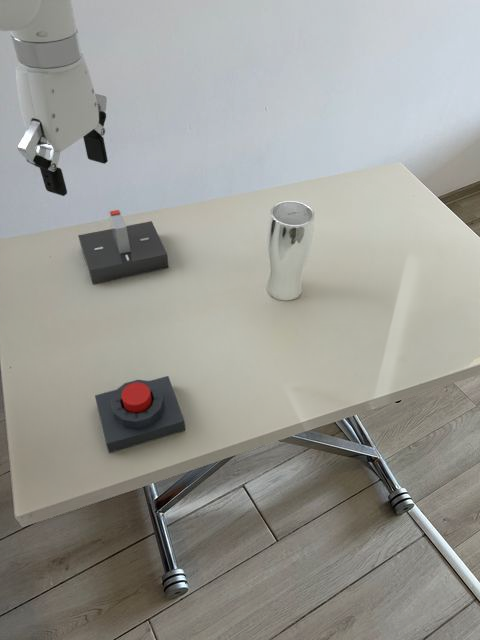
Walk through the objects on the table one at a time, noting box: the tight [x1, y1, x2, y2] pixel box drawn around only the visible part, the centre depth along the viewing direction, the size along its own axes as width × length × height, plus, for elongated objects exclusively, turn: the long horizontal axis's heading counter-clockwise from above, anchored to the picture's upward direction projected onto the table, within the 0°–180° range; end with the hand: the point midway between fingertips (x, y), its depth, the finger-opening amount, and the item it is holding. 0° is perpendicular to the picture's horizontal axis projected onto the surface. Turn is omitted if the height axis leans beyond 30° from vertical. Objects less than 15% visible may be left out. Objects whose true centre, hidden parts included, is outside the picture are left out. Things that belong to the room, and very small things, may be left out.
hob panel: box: [78, 220, 170, 285], centre depth 92 cm, size 13×10×3 cm
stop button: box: [121, 383, 152, 413], centre depth 68 cm, size 4×4×2 cm
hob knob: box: [108, 209, 130, 254], centre depth 89 cm, size 5×2×5 cm, turn 23°
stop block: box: [94, 375, 186, 454], centre depth 70 cm, size 10×8×4 cm
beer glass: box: [266, 200, 315, 302], centre depth 84 cm, size 7×7×15 cm
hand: (78, 176), depth 77 cm, fingers open, 9 cm apart
